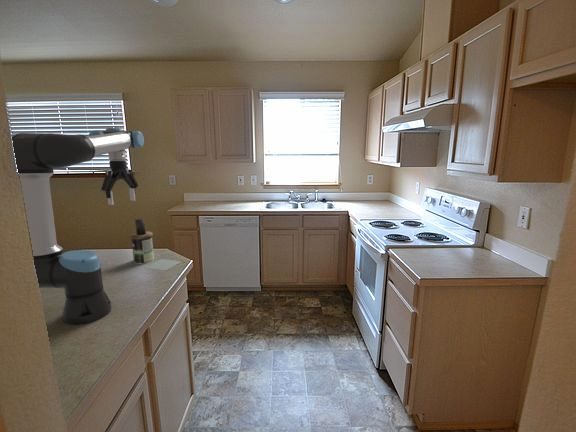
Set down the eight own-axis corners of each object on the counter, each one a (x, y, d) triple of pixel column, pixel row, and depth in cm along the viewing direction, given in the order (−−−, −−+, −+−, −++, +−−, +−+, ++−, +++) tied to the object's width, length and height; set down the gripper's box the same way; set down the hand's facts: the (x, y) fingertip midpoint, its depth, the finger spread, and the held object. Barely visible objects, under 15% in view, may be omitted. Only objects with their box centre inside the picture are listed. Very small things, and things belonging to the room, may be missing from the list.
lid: (142, 239, 158) (140, 222, 156) (125, 238, 161) (123, 220, 159) (157, 234, 168) (155, 217, 166) (140, 232, 172) (139, 216, 170)
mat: (165, 271, 154) (165, 270, 154) (144, 268, 158) (144, 267, 158) (181, 262, 166) (181, 261, 166) (161, 259, 170) (161, 258, 170)
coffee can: (133, 265, 161) (130, 239, 158) (133, 259, 170) (131, 234, 167) (154, 262, 165) (152, 237, 162) (154, 256, 175) (151, 232, 172)
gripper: (101, 161, 141) (106, 206, 145) (142, 159, 164) (146, 199, 168) (89, 160, 143) (94, 206, 147) (131, 159, 166) (135, 198, 171)
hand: (122, 202), depth 158 cm, fingers open, 13 cm apart
